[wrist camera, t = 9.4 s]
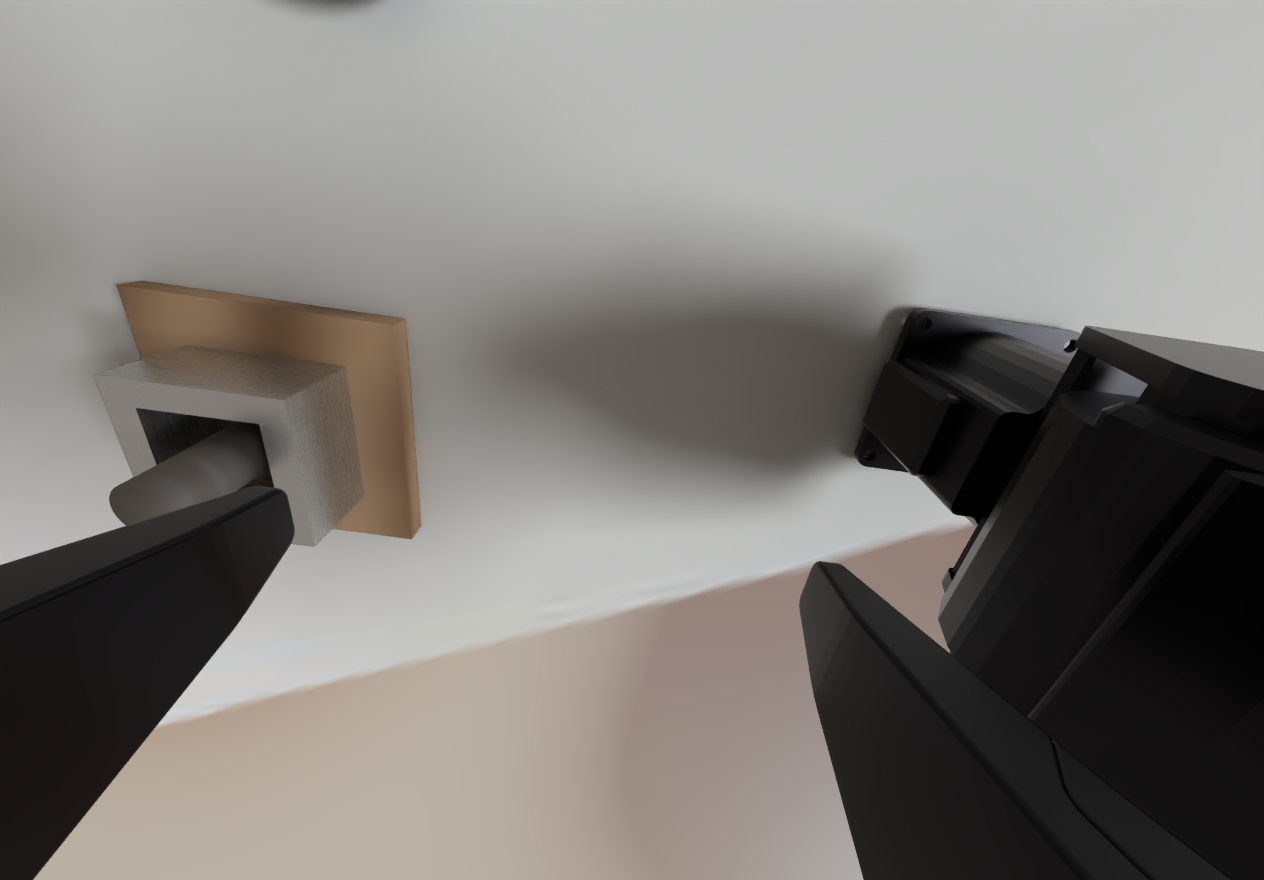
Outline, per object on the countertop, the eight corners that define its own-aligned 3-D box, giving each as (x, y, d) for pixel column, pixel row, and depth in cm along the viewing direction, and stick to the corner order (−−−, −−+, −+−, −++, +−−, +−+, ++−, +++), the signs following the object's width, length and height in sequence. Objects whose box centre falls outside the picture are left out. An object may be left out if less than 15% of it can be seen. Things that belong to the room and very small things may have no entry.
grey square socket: (345, 366, 19) (283, 400, 15) (364, 495, 21) (314, 546, 18) (188, 344, 18) (92, 374, 15) (226, 478, 21) (152, 526, 18)
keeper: (405, 319, 19) (281, 379, 12) (421, 525, 23) (335, 647, 17) (142, 281, 18) (-121, 323, 12) (210, 498, 23) (43, 610, 17)
